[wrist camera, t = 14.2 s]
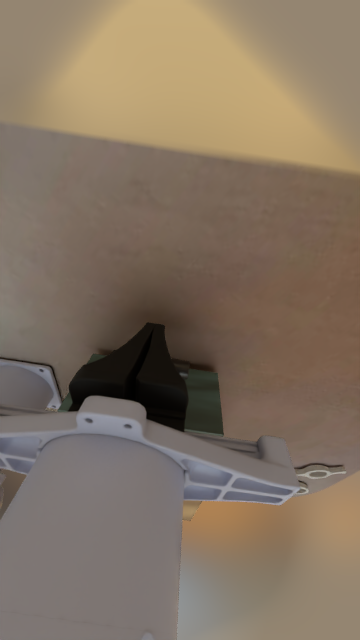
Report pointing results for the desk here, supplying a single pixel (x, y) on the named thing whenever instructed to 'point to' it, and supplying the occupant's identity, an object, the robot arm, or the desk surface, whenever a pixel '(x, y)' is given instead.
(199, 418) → the drawer
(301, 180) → the desk surface
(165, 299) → the desk surface
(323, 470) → the scissors
